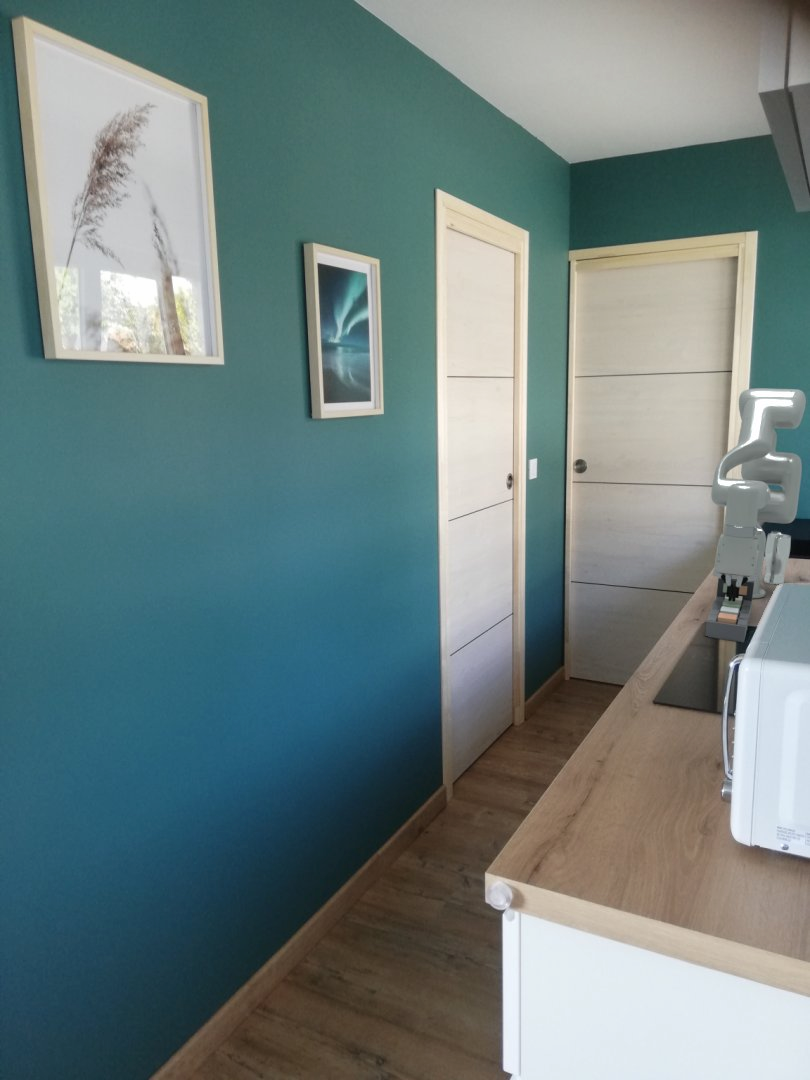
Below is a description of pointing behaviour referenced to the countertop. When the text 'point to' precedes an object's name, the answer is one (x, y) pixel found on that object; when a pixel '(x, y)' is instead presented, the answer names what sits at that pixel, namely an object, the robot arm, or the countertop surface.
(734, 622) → the key terracotta
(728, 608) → the key grey
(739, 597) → the key cream
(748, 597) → the keypad
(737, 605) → the key sage
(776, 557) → the beer glass
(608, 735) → the countertop surface
